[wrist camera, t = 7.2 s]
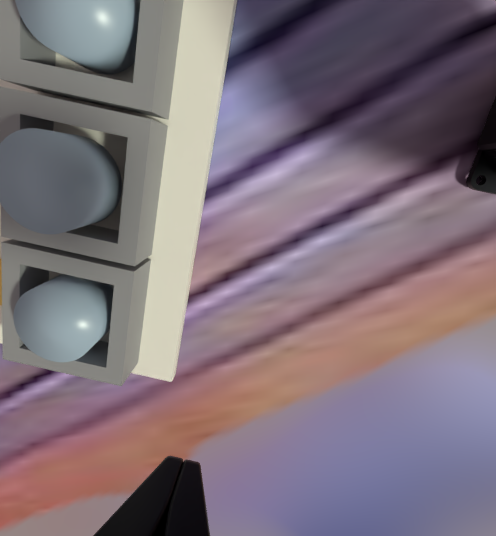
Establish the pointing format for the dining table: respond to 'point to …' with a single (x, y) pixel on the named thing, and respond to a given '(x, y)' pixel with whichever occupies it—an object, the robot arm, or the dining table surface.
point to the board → (132, 175)
